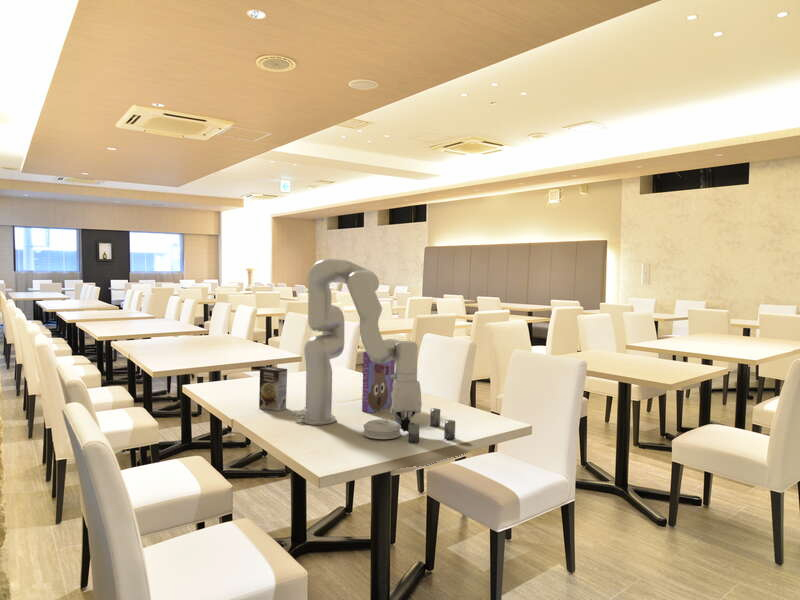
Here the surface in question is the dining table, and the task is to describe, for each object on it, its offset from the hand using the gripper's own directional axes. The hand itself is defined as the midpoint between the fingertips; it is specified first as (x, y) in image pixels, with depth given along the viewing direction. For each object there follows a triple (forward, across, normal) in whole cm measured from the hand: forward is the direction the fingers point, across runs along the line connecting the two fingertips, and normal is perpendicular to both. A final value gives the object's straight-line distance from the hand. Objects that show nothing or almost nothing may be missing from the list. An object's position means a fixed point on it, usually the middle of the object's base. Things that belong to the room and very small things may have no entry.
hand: (405, 430), depth 190 cm
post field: (+1, +7, 0) cm, 7 cm away
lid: (+2, -8, 0) cm, 8 cm away
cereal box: (+1, -1, +37) cm, 37 cm away
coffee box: (+1, -43, +42) cm, 61 cm away
